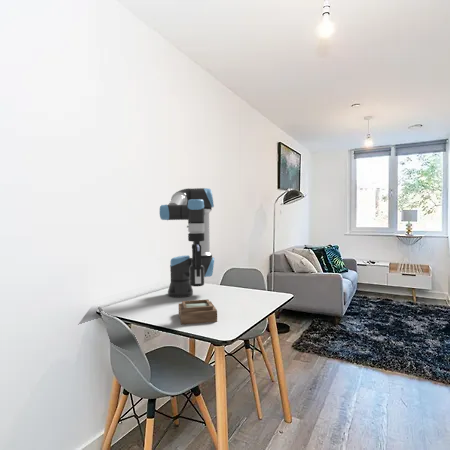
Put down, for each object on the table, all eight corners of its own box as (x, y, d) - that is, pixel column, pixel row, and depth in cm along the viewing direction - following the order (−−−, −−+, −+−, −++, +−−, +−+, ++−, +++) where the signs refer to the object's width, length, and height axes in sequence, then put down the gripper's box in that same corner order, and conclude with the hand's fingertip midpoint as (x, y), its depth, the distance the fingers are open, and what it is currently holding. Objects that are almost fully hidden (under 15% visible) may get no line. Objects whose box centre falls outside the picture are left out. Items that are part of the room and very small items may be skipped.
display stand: (178, 313, 154) (178, 300, 154) (211, 311, 157) (210, 298, 157) (181, 324, 138) (181, 309, 138) (217, 321, 142) (217, 307, 142)
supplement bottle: (200, 287, 143) (200, 260, 143) (187, 286, 146) (186, 260, 145) (206, 284, 149) (206, 258, 149) (193, 283, 152) (193, 258, 152)
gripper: (186, 231, 156) (186, 278, 156) (190, 233, 136) (191, 286, 137) (201, 231, 157) (201, 277, 158) (207, 233, 138) (208, 285, 139)
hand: (196, 281), depth 147 cm, fingers closed on supplement bottle, 7 cm apart
